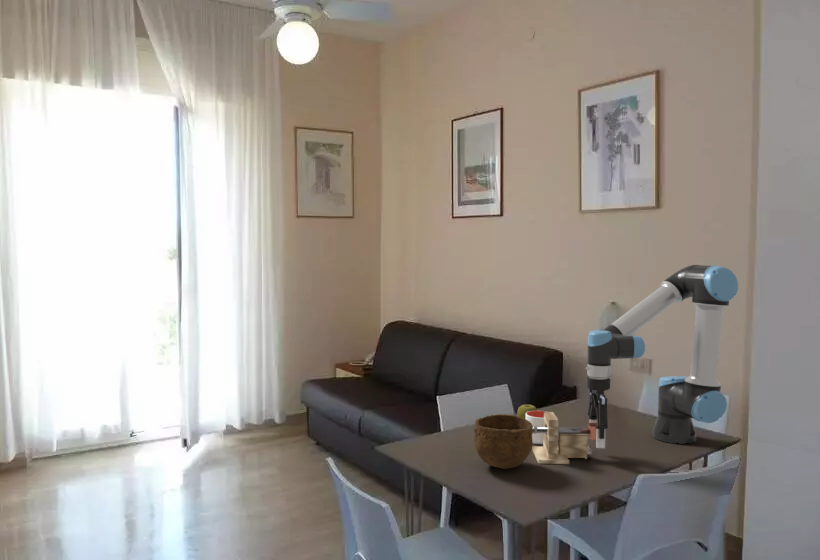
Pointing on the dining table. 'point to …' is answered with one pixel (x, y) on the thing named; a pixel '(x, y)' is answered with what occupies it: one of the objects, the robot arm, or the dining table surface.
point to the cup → (536, 424)
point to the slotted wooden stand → (559, 444)
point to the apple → (525, 410)
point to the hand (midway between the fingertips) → (596, 443)
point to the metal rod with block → (572, 430)
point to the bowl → (503, 440)
